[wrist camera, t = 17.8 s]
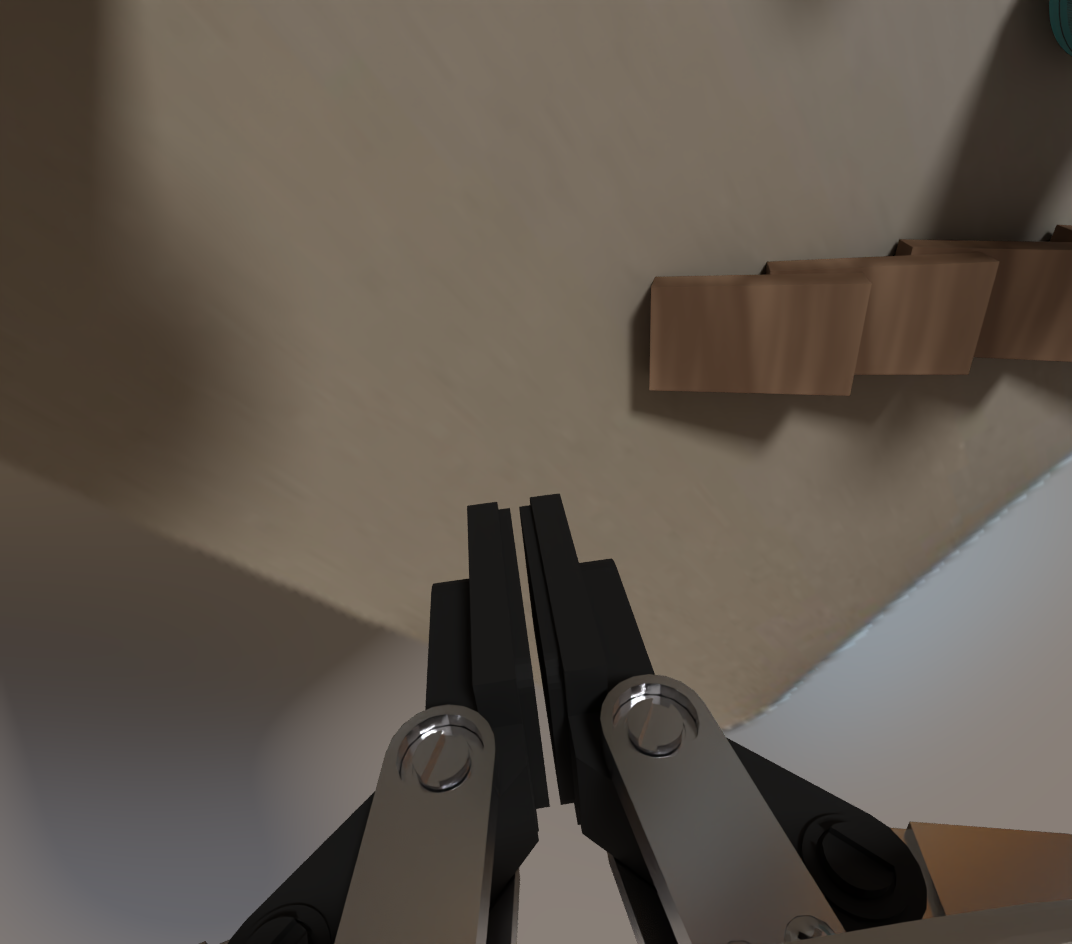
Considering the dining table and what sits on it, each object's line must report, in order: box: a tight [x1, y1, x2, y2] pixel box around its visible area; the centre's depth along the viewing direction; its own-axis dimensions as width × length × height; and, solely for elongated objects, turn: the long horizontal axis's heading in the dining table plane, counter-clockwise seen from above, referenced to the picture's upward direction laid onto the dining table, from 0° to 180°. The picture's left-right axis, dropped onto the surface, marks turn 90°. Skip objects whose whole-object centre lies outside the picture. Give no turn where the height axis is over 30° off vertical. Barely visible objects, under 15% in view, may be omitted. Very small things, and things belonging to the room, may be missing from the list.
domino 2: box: [766, 252, 999, 375], centre depth 29 cm, size 2×5×9 cm
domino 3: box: [895, 239, 1072, 362], centre depth 29 cm, size 2×5×9 cm
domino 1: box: [650, 273, 872, 396], centre depth 28 cm, size 2×5×9 cm
